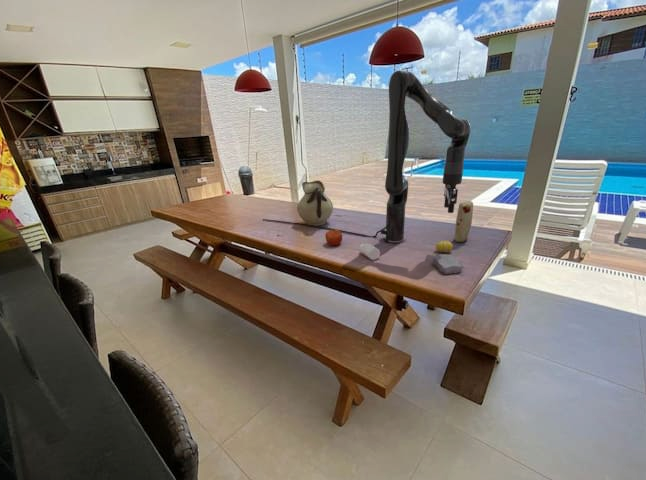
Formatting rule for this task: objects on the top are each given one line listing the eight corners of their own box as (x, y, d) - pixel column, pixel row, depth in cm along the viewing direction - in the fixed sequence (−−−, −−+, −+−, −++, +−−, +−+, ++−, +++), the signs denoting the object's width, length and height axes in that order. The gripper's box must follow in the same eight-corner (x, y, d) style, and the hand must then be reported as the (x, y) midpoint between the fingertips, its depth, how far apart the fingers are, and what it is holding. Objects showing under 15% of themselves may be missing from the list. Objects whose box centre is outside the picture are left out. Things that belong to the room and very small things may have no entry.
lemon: (436, 253, 142) (437, 243, 140) (434, 249, 147) (435, 239, 144) (453, 254, 141) (454, 243, 139) (450, 249, 145) (452, 239, 143)
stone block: (451, 264, 135) (430, 262, 134) (455, 254, 133) (433, 252, 132) (464, 277, 125) (441, 275, 123) (468, 267, 123) (445, 264, 121)
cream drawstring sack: (313, 216, 208) (310, 178, 197) (342, 221, 196) (340, 181, 185) (291, 225, 192) (286, 185, 181) (321, 231, 179) (318, 188, 169)
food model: (463, 244, 150) (469, 204, 141) (450, 241, 154) (455, 202, 146) (471, 239, 156) (477, 200, 147) (458, 236, 160) (463, 198, 152)
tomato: (331, 248, 155) (331, 233, 151) (322, 243, 162) (321, 229, 158) (346, 244, 159) (346, 229, 155) (337, 239, 166) (336, 225, 163)
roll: (367, 249, 151) (367, 239, 149) (380, 258, 141) (380, 247, 138) (356, 252, 149) (356, 241, 147) (368, 261, 139) (368, 249, 137)
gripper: (440, 169, 135) (437, 205, 142) (446, 175, 122) (442, 214, 129) (458, 169, 134) (454, 205, 141) (466, 174, 121) (461, 214, 128)
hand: (448, 209), depth 135 cm, fingers open, 8 cm apart
